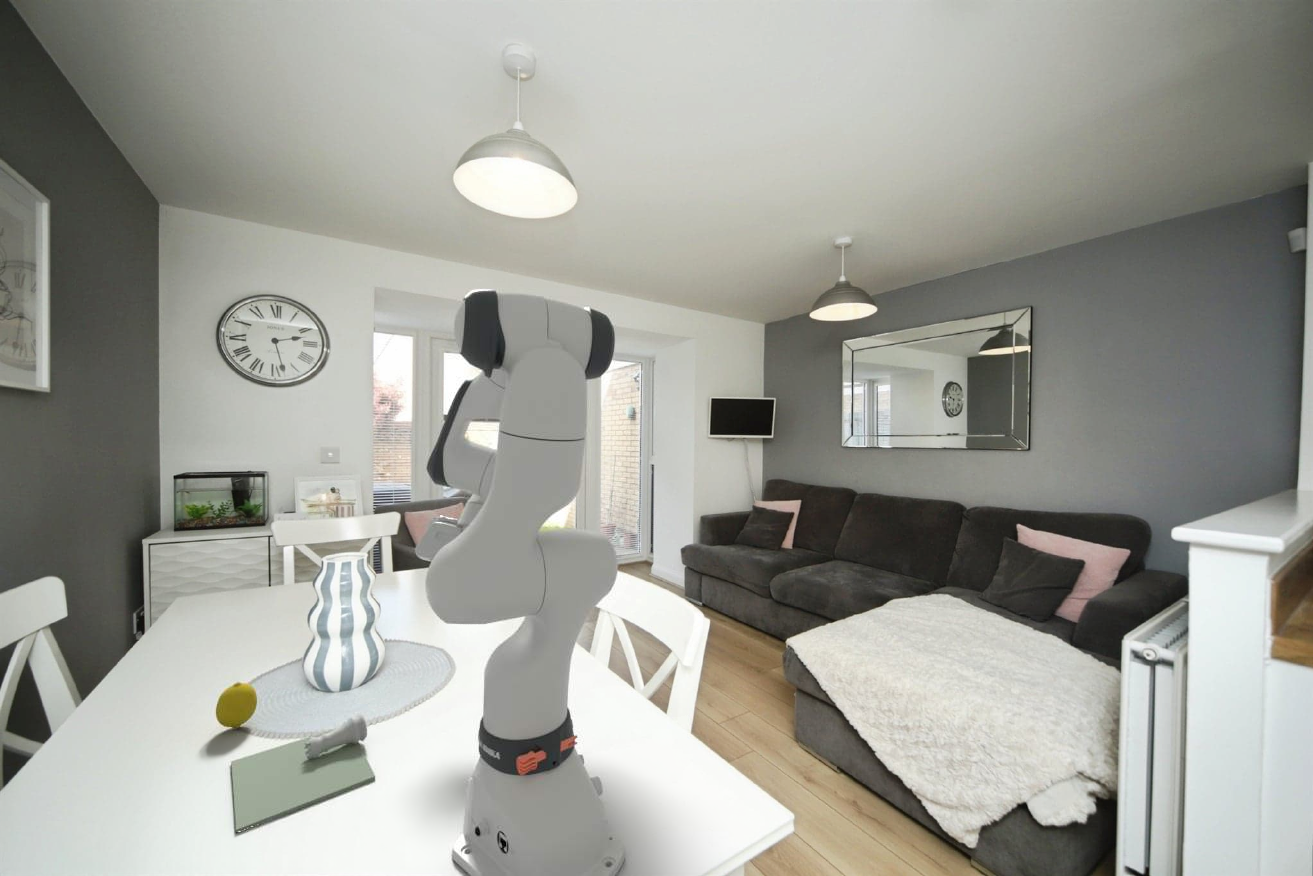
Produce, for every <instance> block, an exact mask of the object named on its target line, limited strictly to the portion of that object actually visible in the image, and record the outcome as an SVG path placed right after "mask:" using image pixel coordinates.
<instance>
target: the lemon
mask: <svg viewBox="0 0 1313 876" xmlns="http://www.w3.org/2000/svg"><path fill="white" fill-rule="evenodd" d="M257 705H258V696H257V693H256V690H255V688H254V686H252V685H251V684H248V683H245V682H240V681H237V682H235V683H234V684H233V685H231V686H229V687H227V688H226V689H225V690H224V691H223V692H222V693H221V694H220V695H219V697H218V700H217V703H216V707H215V716H216V720H217V721H218V724H220V725H221V726H223V727H224V728H225V727H226V728H232V729H233V730H236V729H239V728H240V726H242V725H243V724H245V723H246V722H248V721H249V720H250V719H251V718H252V716H253V715H254V713H255V712H256V710H257Z"/></svg>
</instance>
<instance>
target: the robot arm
mask: <svg viewBox="0 0 1313 876" xmlns="http://www.w3.org/2000/svg"><path fill="white" fill-rule="evenodd" d="M453 331H454V332H453V333H454V334H453V335H454V338H455V341H456V344H457V347H458V349H459V351H458V352H459V354H460V356H461V357H463V359H464V360H465V361H466V362H467V363H468V364H469V365H470V366H473V367H474V368H477V369H479V370H481V372H480V373H479V374H478V375H476V376H469V377H467V378H466V379H465V380H464V381H463V383H462V384H461V385H460V387H459V388H458V389H457V392H456V394H455V395H454V396H453V400H452V402H451V403H450V407H449V409H448V412H447V415H446V416H445V419H444V422H443V425H442V427H441V430H440V433H439V434H438V437H437V441H436V443H435V444H434V446H433V447H432V449H431V451H430V453H429V456H428V458H427V463H426V471H427V474H428V475H429V478H430V479H431V481H432V482H433V483H434V484H435V485H439V486H443V487H447V488H450V489H451V488H453V489H457V490H460V491H463V492H466V493H470V494H471V496H470V497H469V499H468V500H467V501H466V503H465V505H464V508H463V510H462V512H461V515H460V517H459V519H457V518H453V517H447V516H445V515H439V516H436V517H433V518H432V519H430V520H429V522H428V524H427V526H426V529H425V531H424V533H423V534H422V536H421V537H420V539H419V541H418V542H417V545H416V546H415V548H414V553H415V555H416V556H417V557H418V559H420V560H423V561H428V562H430V564H429V566H428V569H427V572H426V577H425V594H426V599H427V601H428V604H429V607H430V608H431V610H432V611H433V614H435V615H436V617H438V618H439V619H440V620H441V621H442V622H443V623H445V624H448V625H487V624H492V623H493V624H494V623H498V622H502V621H509V620H514V619H518V618H523V621H522V622H521V624H519V627H518V628H517V629H516V630H515V632H514V633H513V634H512V635H510V636H509V637H507V638H506V640H503V642H501V643H500V644H499V645H498V646H497V647H495V649H494V650H493V651H492V652H491V654H490V656H489V657H488V660H487V663H486V665H485V668H484V674H483V676H484V679H483V680H484V681H483V710H482V711H483V714H482V716H481V719H480V721H479V722H480V723H479V729H478V734H477V736H478V737H477V741H478V753H479V758H478V761H477V763H476V766H475V768H474V769H473V772H472V773H471V775H470V777H469V779H468V782H467V786H466V787H467V788H466V798H465V808H464V817H463V818H464V819H463V828H462V833H461V834H460V835H459V836H458V838H457V839H456V840H455V842H454V843H453V845H452V851H451V859H453V861H454V862H456V863H457V865H459V866H460V868H462V870H464V872H466V873H467V874H468V875H469V876H616V875H617V874H618V872H619V871H620V869H621V867H622V866H623V863H624V862H625V861H624V860H625V849H624V847H623V845H622V843H621V842H620V839H619V838H618V837H617V835H616V833H615V832H614V830H613V829H612V827H611V826H610V824H609V822H608V821H607V820H606V818H605V812H604V807H603V803H602V799H600V797H601V796H602V795H603V785H602V781H601V779H600V777H599V776H598V775H597V776H596V775H595V776H592V777H590V776H589V772H588V771H587V769H586V766H585V758H584V755H583V754H578V752H577V749H576V747H575V746H576V745H578V742H577V741H576V739H578V735H575V732H574V723H573V720H572V716H571V711H570V709H569V707H568V702H569V701H568V699H569V683H570V671H571V663H572V656H573V653H574V649H575V646H576V642H577V640H578V637H579V636H580V634H581V630H583V627H584V625H585V623H586V621H587V620H588V618H589V616H590V615H591V613H592V612H593V611H594V609H595V608H596V607H597V605H598V604H599V603H600V602H601V601H602V600H603V599H604V598H605V597H606V596H607V595H608V594H609V593H610V592H611V590H612V589H613V587H614V586H615V583H616V580H617V577H618V570H619V561H618V556H617V552H616V549H615V547H614V546H613V543H612V542H611V541H610V539H609V538H608V537H607V535H605V534H604V533H603V532H599V531H595V530H588V529H582V528H581V529H580V528H561V529H551V530H540V529H541V528H542V527H543V525H544V524H545V523H546V522H547V521H548V519H550V518H551V517H552V516H553V515H554V514H556V513H557V512H559V511H562V509H564V508H565V507H567V506H569V505H570V504H571V503H572V502H573V500H574V499H575V498H576V496H577V495H578V493H579V491H580V488H581V483H582V474H583V473H582V472H583V463H584V454H585V446H586V444H585V443H586V435H587V434H586V433H587V422H588V420H587V419H588V418H587V417H588V395H587V394H588V392H587V390H588V389H587V380H594V379H598V378H601V377H602V376H603V375H604V374H605V373H607V372H606V371H608V370H609V368H610V366H611V363H612V360H613V357H614V353H615V347H616V346H615V344H616V343H615V342H616V341H615V340H616V337H615V329H614V325H613V324H612V322H611V320H610V318H609V317H608V315H606V314H605V313H602V312H601V311H598V310H595V309H593V308H591V307H588V306H587V307H584V308H582V307H581V306H578V305H573V304H570V303H567V302H562V301H559V300H554V299H550V298H549V299H548V298H545V297H544V296H541V295H534V294H526V293H517V292H501V291H500V292H497V290H496V289H487V288H486V289H473V290H470V291H469V292H468V293H467V294H466V295H465V296H463V299H462V302H461V304H460V305H459V306H458V308H457V311H456V314H455V317H454V323H453ZM482 419H483V420H485V419H486V420H490V419H491V420H499V425H498V435H497V436H498V437H497V447H496V449H495V448H491V447H488V446H485V445H483V444H480V443H476V442H473V441H471V440H470V439H468V438H467V437H466V436H465V435H466V433H467V431H468V428H469V426H470V423H471V422H472V421H473V420H482Z"/></svg>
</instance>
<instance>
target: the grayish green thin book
mask: <svg viewBox="0 0 1313 876" xmlns="http://www.w3.org/2000/svg"><path fill="white" fill-rule="evenodd" d="M337 728H338V727H337ZM337 728H334V729H331V730H327V731H323V732H320V733H318V734H315V735H311V736H308V737H305V738H301V739H299V740H294V741H291V742H289V743H286V744H282V745H280V746H276V747H274V748H273V747H272V748H270V749H267V750H264V751H260V752H257V753H253V754H250V755H247V756H244V757H241V758H237V759H234V760H231V761H230V762H231V763H230V766H231V768H232V769H231V779H232V781H233V783H232V794H233V795H234V797H233V806H234V807H233V808H234V810H235V811H234V821H235V822H236V825H235V833H236V832H238V831H242V830H244V829H247V828H249V829H251V828H250V827H251V826H254V827H257V826H258V825H257V824H260V823H262V822H265V823H267V822H269V821H268V820H270V821H272V820H275V819H277V818H279V817H283V816H285V815H287V814H291V813H292V812H296V811H298V810H300V809H303V808H305V807H308V806H311V805H313V804H316V803H319V802H321V801H323V800H327V799H329V798H332V797H334V796H336V795H339V794H342V793H344V792H347V791H350V790H351V789H355V788H358V787H360V786H362V785H365V784H367V783H370V782H373V781H374V780H376V775H375V773H374V771H373V769H372V766H371V764H370V763H369V761H368V759H367V757H366V755H365V752H364V750H363V748H362V746H361V745H360V741H358V743H357V744H352V743H350V744H343V745H340V746H337V747H334V748H331V749H329V750H328V751H327V752H322V753H320V755H319V756H318V757H317V758H310V759H307V756H308V754H307V755H306V753H305V752H306V751H308V748H307V749H305V742H307V741H309V740H310V739H311V737H316V738H318V737H320V736H322V735H323V734H327V733H329V732H331V731H333V730H335V729H337ZM271 819H272V820H271ZM266 821H267V822H266ZM235 822H234V823H235ZM262 824H263V823H262ZM256 825H257V826H256ZM260 825H261V824H260ZM247 830H248V829H247ZM244 831H245V830H244ZM242 832H243V831H242Z"/></svg>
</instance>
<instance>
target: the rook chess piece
mask: <svg viewBox="0 0 1313 876" xmlns="http://www.w3.org/2000/svg"><path fill="white" fill-rule="evenodd" d="M334 729H335V730H333V729H332V730H333V731H331V732H329V733H327V734H323V735H322V736H320V737H318V738H316V737H311V736H310V737H311V739H310V740H309V741H307V742H305V749H307V748H308V751H306V752H305V753H306V755H307V754H308V756H307V759H310V758H317V757H318V756H319V755H320V753H322V752H327V751H328V750H329V749H331V748H334V747H337V746H340V745H343V744H350V743H352V744H357V743H358V742H360V741H362V742H364V741H365V740H366V738H367V736H368V727H367V722H366V719H365V717H364V715H363V714H361V713H356V715H355V716H350V717H348V718H347V720H346V721H345V722H343V723H342V724H341V725H340V726H339V727H337V729H336V728H334Z"/></svg>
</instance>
